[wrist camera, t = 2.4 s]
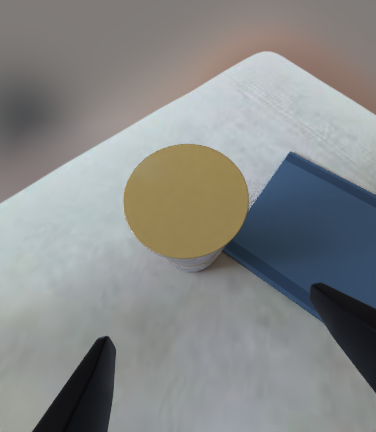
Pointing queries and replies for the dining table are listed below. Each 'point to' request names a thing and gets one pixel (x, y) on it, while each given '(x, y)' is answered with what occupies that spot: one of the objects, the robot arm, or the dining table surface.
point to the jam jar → (186, 204)
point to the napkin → (310, 234)
